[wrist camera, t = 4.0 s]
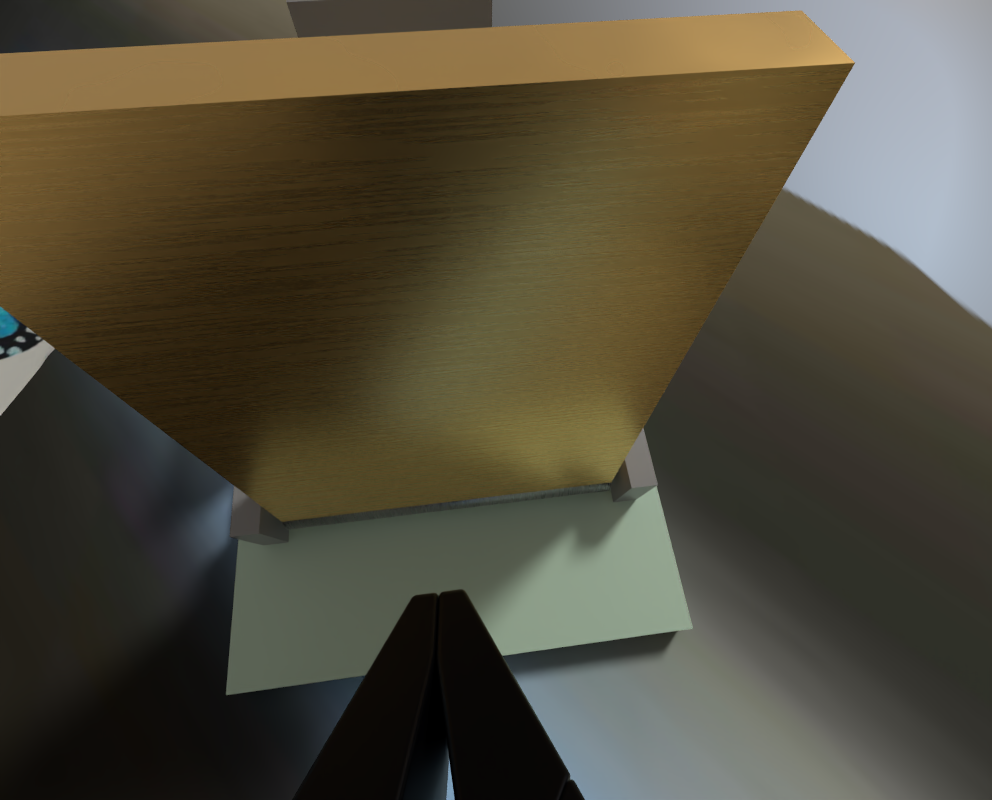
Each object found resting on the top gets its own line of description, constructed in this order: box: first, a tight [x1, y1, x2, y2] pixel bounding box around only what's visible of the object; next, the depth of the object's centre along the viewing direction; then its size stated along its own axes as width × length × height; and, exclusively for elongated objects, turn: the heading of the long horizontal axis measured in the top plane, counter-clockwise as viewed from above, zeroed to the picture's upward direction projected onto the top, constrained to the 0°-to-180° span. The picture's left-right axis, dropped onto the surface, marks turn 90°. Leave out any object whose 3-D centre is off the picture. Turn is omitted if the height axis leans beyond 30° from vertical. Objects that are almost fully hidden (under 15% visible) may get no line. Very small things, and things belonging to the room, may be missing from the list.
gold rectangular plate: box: [0, 11, 855, 530], centre depth 10 cm, size 1×10×13 cm, turn 97°
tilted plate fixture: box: [226, 0, 693, 695], centre depth 14 cm, size 20×14×10 cm
